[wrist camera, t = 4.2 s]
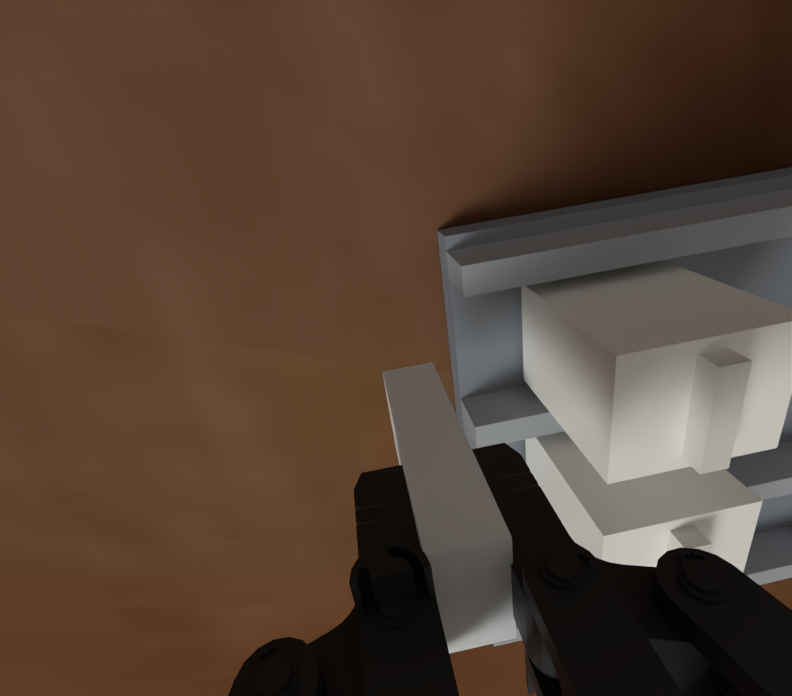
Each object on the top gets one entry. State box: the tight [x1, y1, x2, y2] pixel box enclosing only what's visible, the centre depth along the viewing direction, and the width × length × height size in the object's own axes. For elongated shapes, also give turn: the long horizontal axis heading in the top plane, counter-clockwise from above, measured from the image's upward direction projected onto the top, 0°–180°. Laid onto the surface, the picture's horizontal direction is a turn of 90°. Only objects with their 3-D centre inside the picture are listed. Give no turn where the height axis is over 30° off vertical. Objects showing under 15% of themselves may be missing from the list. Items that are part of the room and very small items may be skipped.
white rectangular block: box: [521, 260, 792, 484], centre depth 14 cm, size 4×5×7 cm
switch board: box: [437, 167, 792, 647], centre depth 20 cm, size 20×18×4 cm
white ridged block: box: [525, 431, 763, 572], centre depth 17 cm, size 4×5×7 cm
